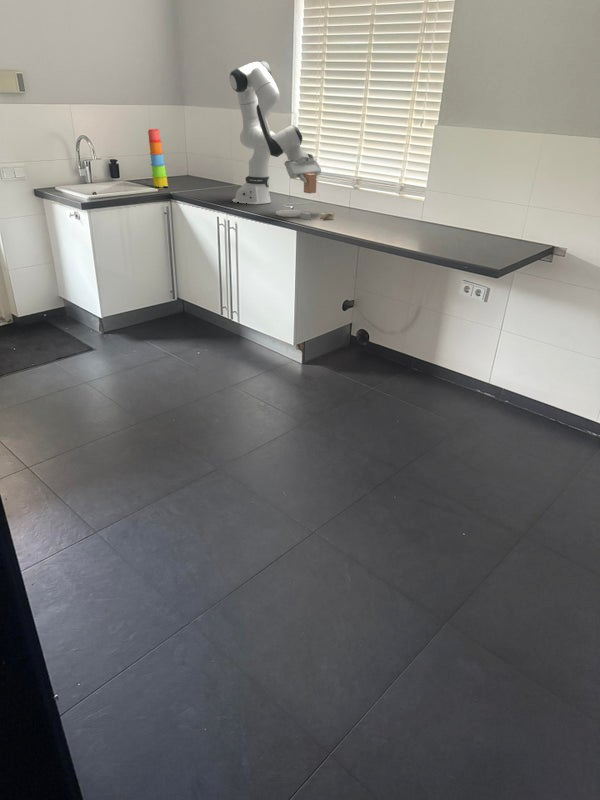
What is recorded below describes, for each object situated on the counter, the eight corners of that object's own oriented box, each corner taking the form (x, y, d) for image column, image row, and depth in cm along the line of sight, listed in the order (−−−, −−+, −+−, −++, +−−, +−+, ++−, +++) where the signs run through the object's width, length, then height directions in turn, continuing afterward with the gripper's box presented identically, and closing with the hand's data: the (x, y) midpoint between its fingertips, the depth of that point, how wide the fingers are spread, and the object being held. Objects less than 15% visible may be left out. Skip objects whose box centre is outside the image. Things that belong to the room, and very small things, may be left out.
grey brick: (299, 217, 291) (299, 211, 290) (304, 217, 293) (304, 211, 291) (305, 220, 287) (305, 213, 285) (310, 219, 288) (310, 213, 287)
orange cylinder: (303, 192, 292) (304, 173, 288) (309, 191, 295) (310, 173, 291) (309, 193, 289) (310, 174, 285) (315, 192, 292) (316, 174, 288)
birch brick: (322, 220, 287) (323, 214, 285) (320, 219, 289) (320, 213, 288) (333, 219, 289) (333, 213, 287) (330, 218, 291) (331, 212, 290)
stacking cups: (166, 188, 366) (161, 129, 350) (151, 188, 366) (145, 129, 350) (170, 186, 375) (166, 128, 359) (155, 186, 375) (150, 128, 359)
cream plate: (272, 216, 293) (272, 213, 292) (280, 211, 305) (280, 208, 305) (300, 218, 290) (300, 215, 289) (306, 213, 302) (306, 210, 302)
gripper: (286, 156, 282) (298, 180, 281) (315, 154, 295) (327, 176, 293) (280, 165, 287) (292, 188, 286) (309, 163, 300) (321, 184, 298)
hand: (310, 182), depth 289 cm, fingers closed on orange cylinder, 4 cm apart
